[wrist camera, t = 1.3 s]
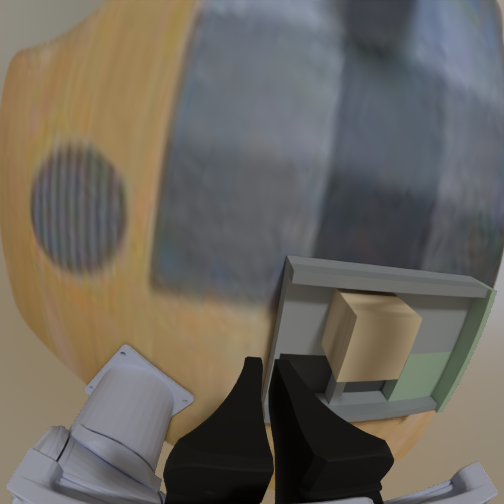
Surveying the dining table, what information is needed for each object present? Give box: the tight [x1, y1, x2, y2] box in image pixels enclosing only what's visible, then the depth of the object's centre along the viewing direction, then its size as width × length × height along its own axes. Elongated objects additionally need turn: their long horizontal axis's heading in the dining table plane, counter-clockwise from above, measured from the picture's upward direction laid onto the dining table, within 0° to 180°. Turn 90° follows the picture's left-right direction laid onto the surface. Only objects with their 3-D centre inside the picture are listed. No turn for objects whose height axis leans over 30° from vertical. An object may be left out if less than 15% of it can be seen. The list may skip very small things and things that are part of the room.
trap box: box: [262, 255, 497, 423], centre depth 20 cm, size 18×13×4 cm
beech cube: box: [321, 288, 422, 382], centre depth 17 cm, size 4×4×4 cm
